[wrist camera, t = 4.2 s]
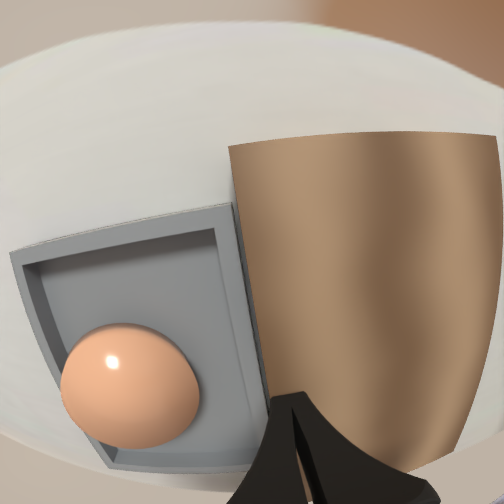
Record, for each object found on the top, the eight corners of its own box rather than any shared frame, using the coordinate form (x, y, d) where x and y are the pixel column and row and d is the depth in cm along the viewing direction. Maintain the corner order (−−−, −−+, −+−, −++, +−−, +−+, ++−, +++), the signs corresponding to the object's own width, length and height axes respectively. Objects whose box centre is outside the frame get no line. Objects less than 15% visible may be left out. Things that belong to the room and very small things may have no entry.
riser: (448, 142, 13) (495, 136, 9) (430, 419, 17) (453, 451, 14) (231, 158, 13) (228, 146, 9) (282, 462, 17) (288, 505, 13)
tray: (232, 202, 14) (230, 204, 12) (275, 448, 17) (277, 467, 15) (27, 246, 13) (9, 252, 12) (115, 452, 17) (108, 468, 15)
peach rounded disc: (38, 350, 10) (45, 337, 12) (95, 457, 12) (95, 439, 13) (180, 320, 13) (175, 308, 14) (212, 431, 14) (204, 414, 16)
